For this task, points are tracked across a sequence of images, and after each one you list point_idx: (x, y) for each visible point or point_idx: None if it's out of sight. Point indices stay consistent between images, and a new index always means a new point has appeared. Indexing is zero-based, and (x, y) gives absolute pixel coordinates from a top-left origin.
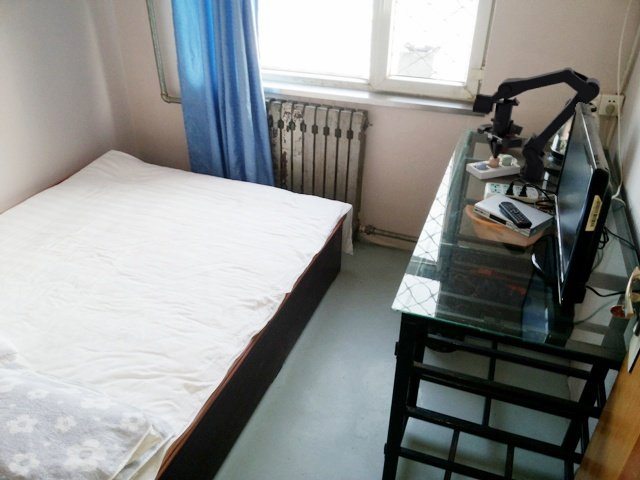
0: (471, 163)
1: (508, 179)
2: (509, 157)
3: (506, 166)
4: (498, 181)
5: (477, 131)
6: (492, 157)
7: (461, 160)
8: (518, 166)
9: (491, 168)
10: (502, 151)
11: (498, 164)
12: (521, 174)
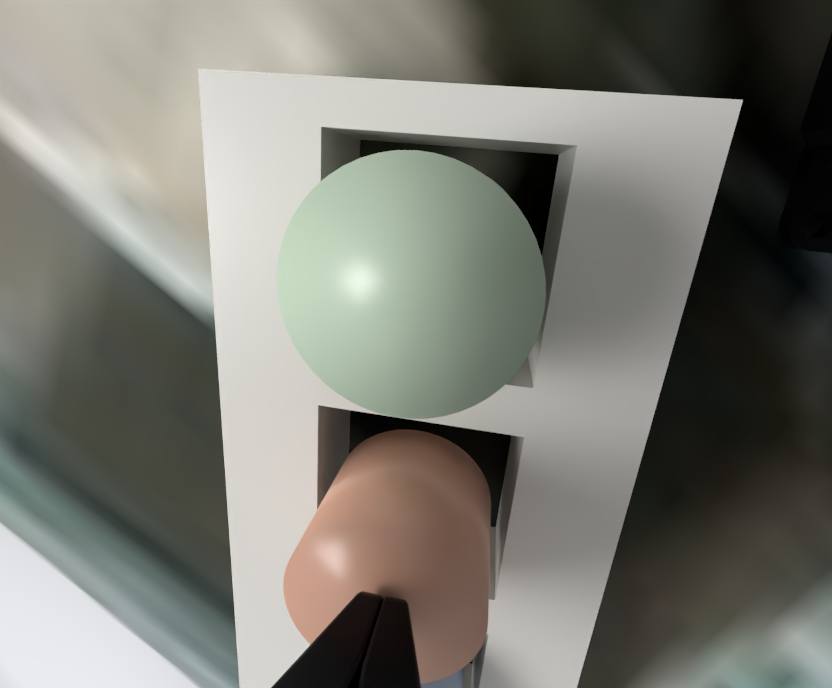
0: (242, 669)
1: (747, 459)
2: (487, 300)
3: (554, 368)
4: (704, 597)
5: None
6: (320, 605)
7: (34, 501)
8: (701, 143)
9: (494, 612)
10: None
11: (486, 518)
12: (818, 195)
